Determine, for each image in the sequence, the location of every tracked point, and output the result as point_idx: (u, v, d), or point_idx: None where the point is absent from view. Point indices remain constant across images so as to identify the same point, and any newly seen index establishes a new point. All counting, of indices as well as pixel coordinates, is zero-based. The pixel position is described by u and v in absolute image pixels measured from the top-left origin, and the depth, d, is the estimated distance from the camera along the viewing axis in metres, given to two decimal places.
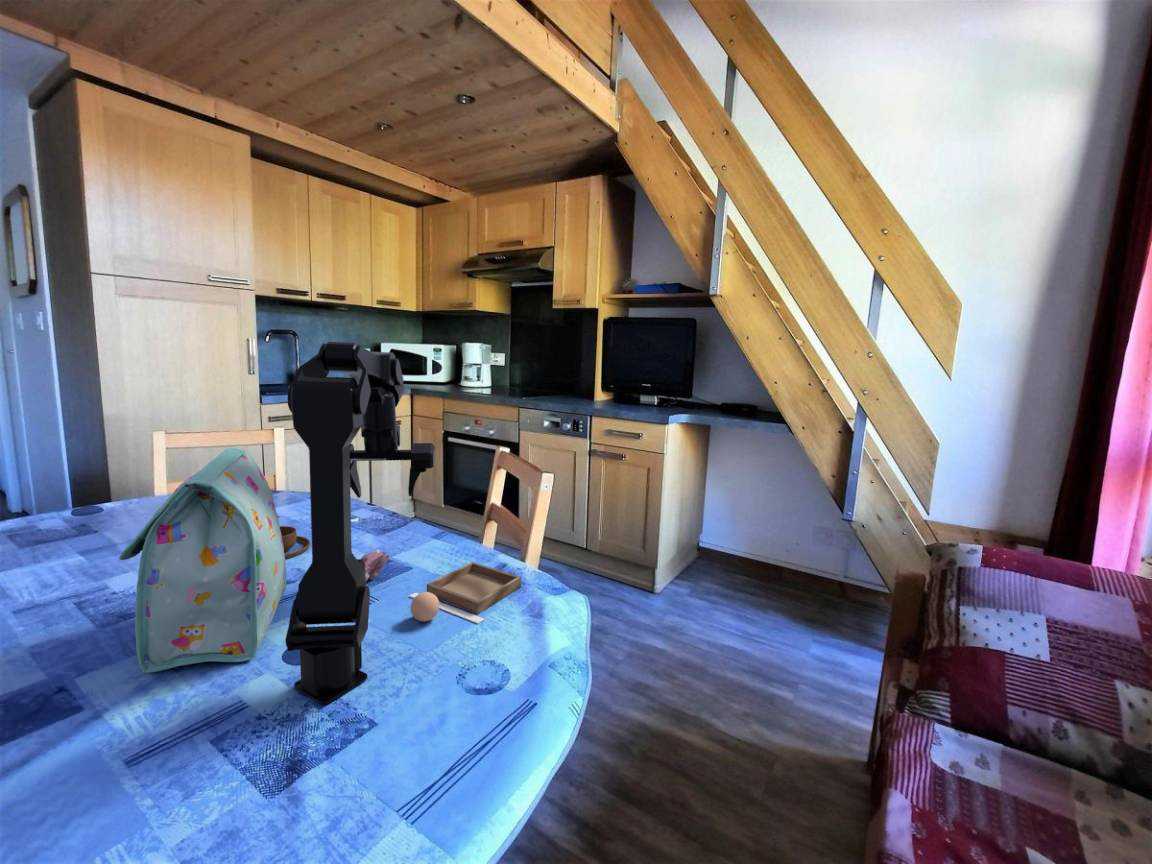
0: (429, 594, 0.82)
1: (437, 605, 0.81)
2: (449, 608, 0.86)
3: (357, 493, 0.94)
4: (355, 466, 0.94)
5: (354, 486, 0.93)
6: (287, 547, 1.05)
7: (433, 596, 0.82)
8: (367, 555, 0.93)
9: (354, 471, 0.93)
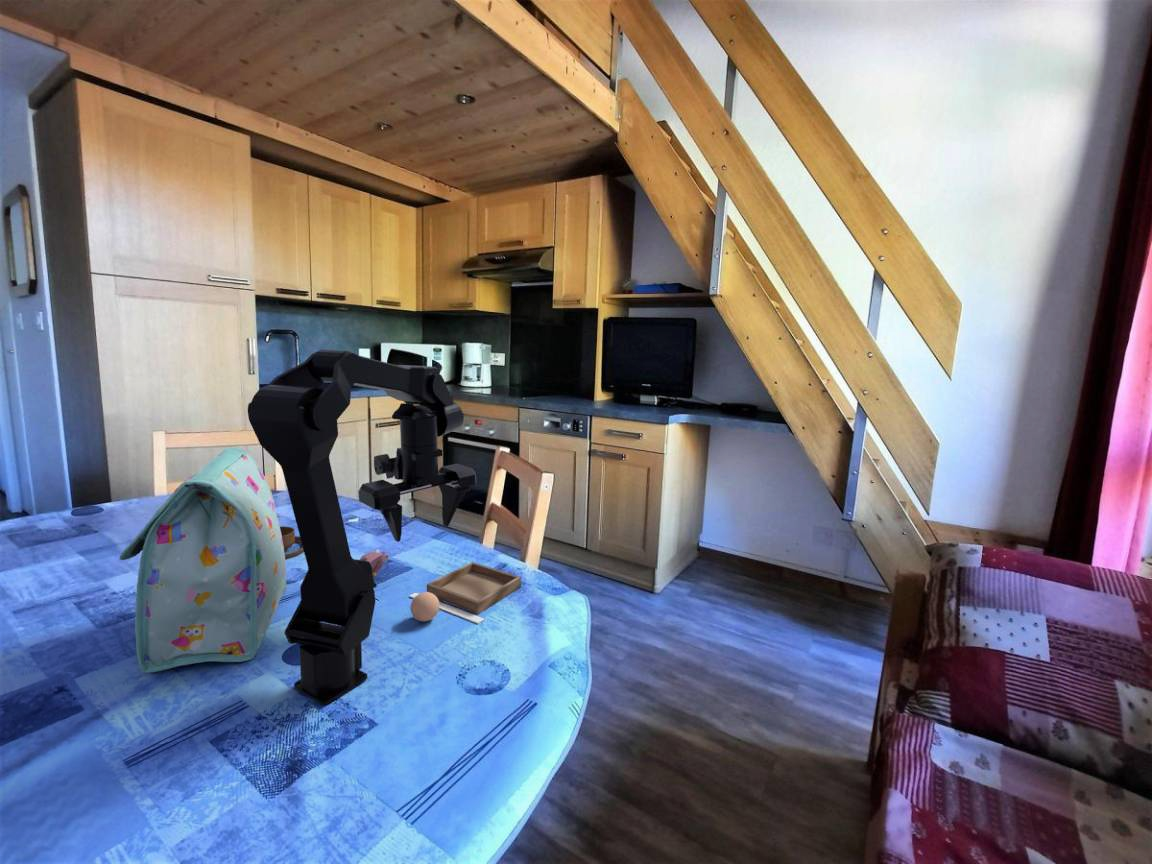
0: (429, 594, 0.82)
1: (437, 605, 0.81)
2: (449, 608, 0.86)
3: (399, 535, 0.81)
4: None
5: (400, 526, 0.80)
6: (285, 547, 1.05)
7: (433, 596, 0.82)
8: (366, 555, 0.93)
9: None
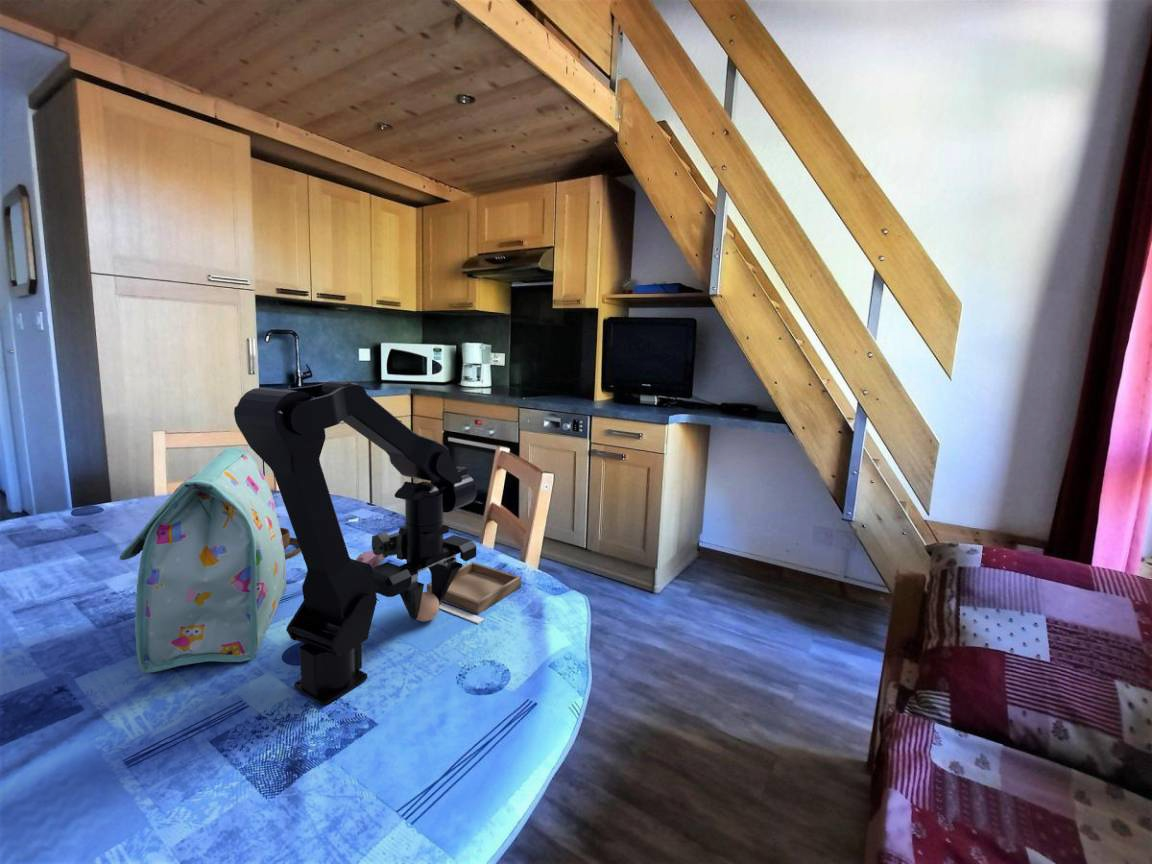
0: (429, 594, 0.82)
1: (437, 605, 0.81)
2: (449, 608, 0.86)
3: (417, 613, 0.79)
4: None
5: (419, 604, 0.78)
6: None
7: (433, 596, 0.82)
8: (363, 555, 0.93)
9: None
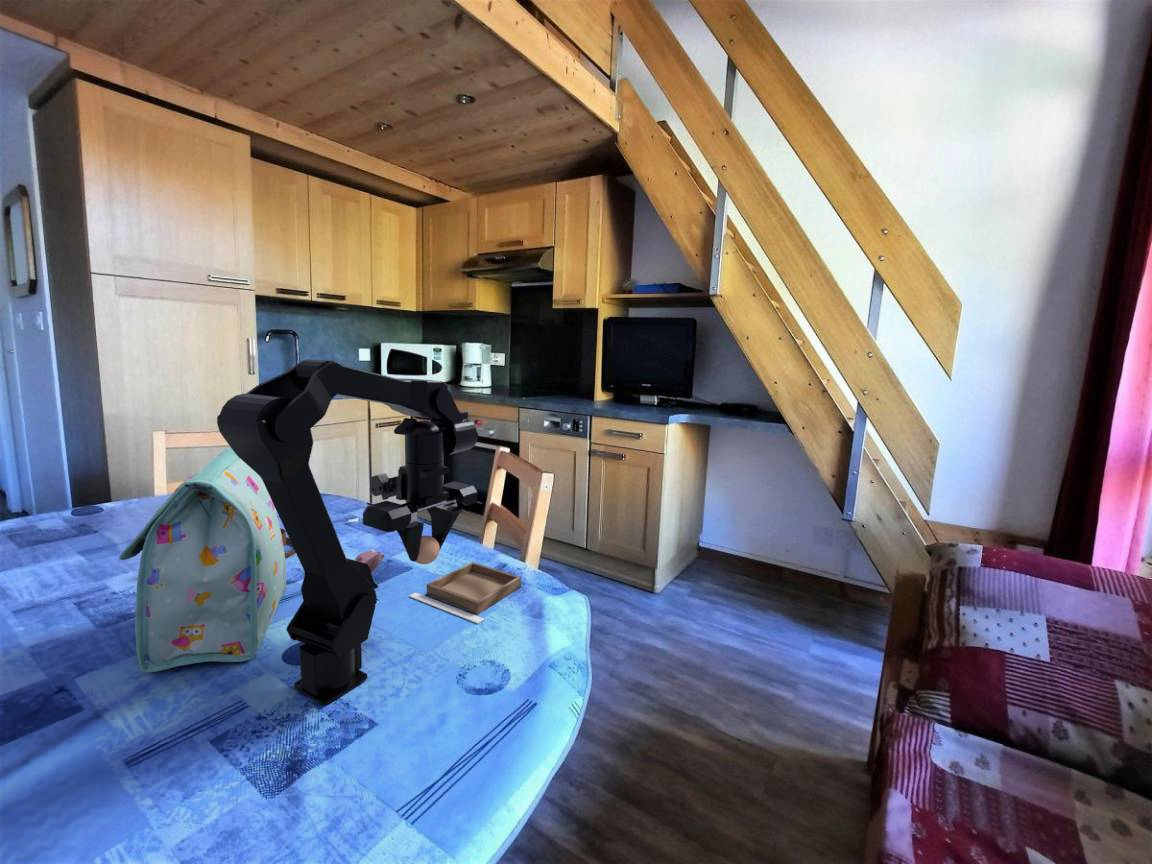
0: (429, 537, 0.80)
1: (437, 548, 0.80)
2: (449, 608, 0.86)
3: (417, 555, 0.78)
4: None
5: (419, 544, 0.77)
6: None
7: (433, 539, 0.80)
8: (362, 555, 0.93)
9: None
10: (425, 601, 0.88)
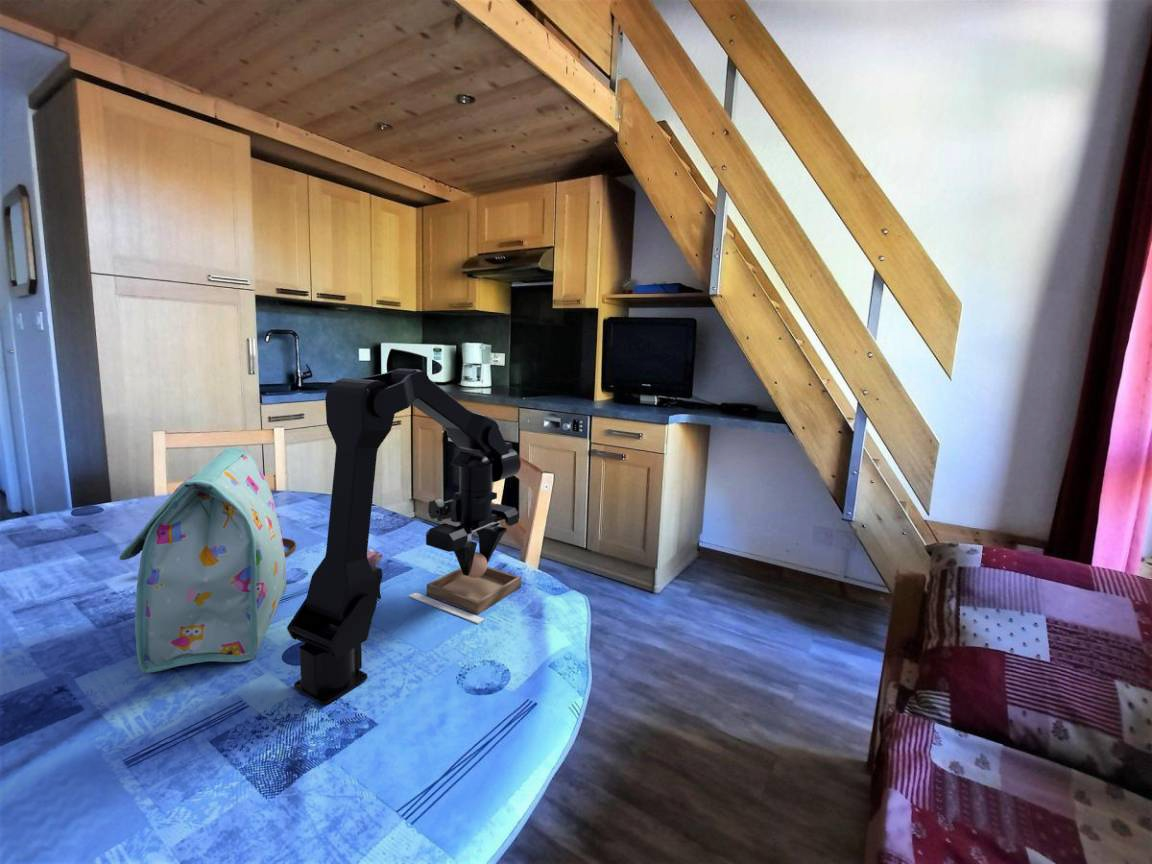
0: (478, 554, 0.91)
1: (486, 563, 0.91)
2: (449, 608, 0.86)
3: (469, 570, 0.89)
4: None
5: (471, 561, 0.88)
6: None
7: (482, 555, 0.92)
8: None
9: None
10: (425, 601, 0.88)
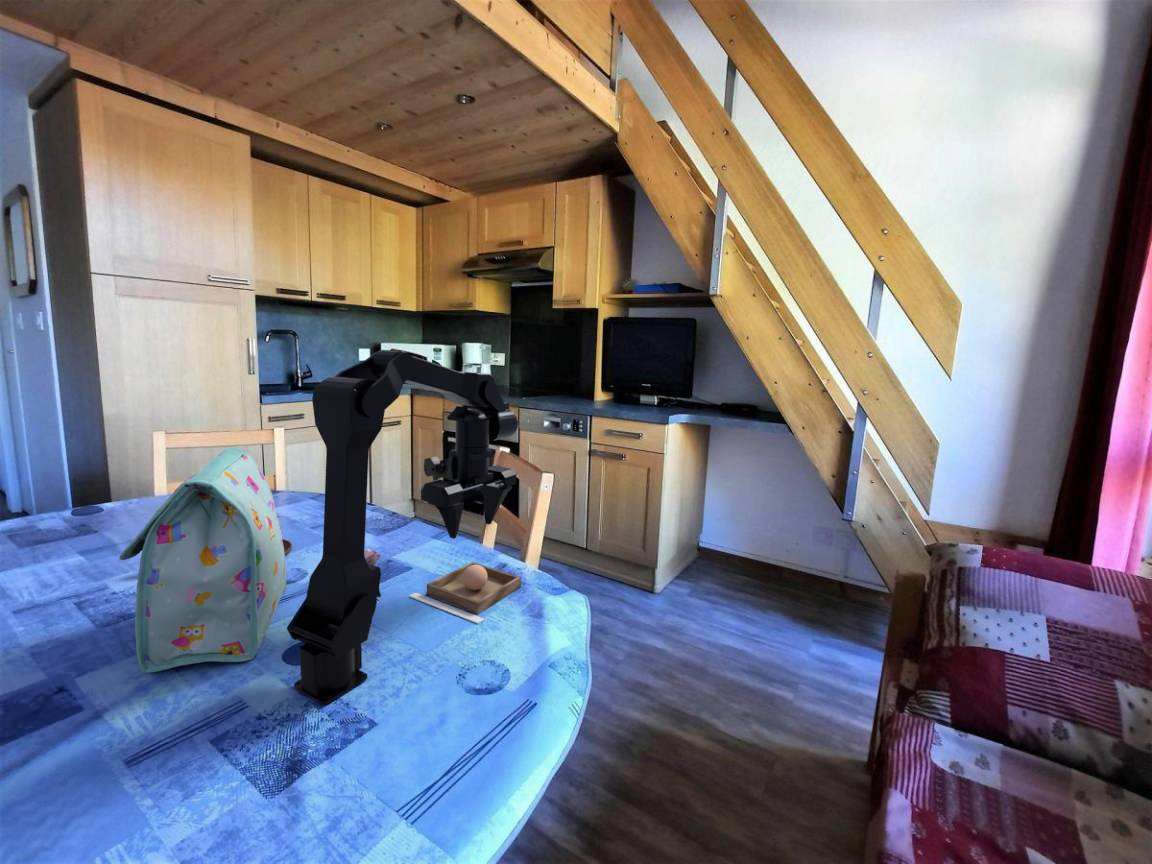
0: (479, 566, 0.92)
1: (486, 576, 0.92)
2: (449, 608, 0.86)
3: (456, 532, 0.85)
4: None
5: (458, 522, 0.85)
6: None
7: (482, 568, 0.92)
8: None
9: None
10: (425, 601, 0.88)
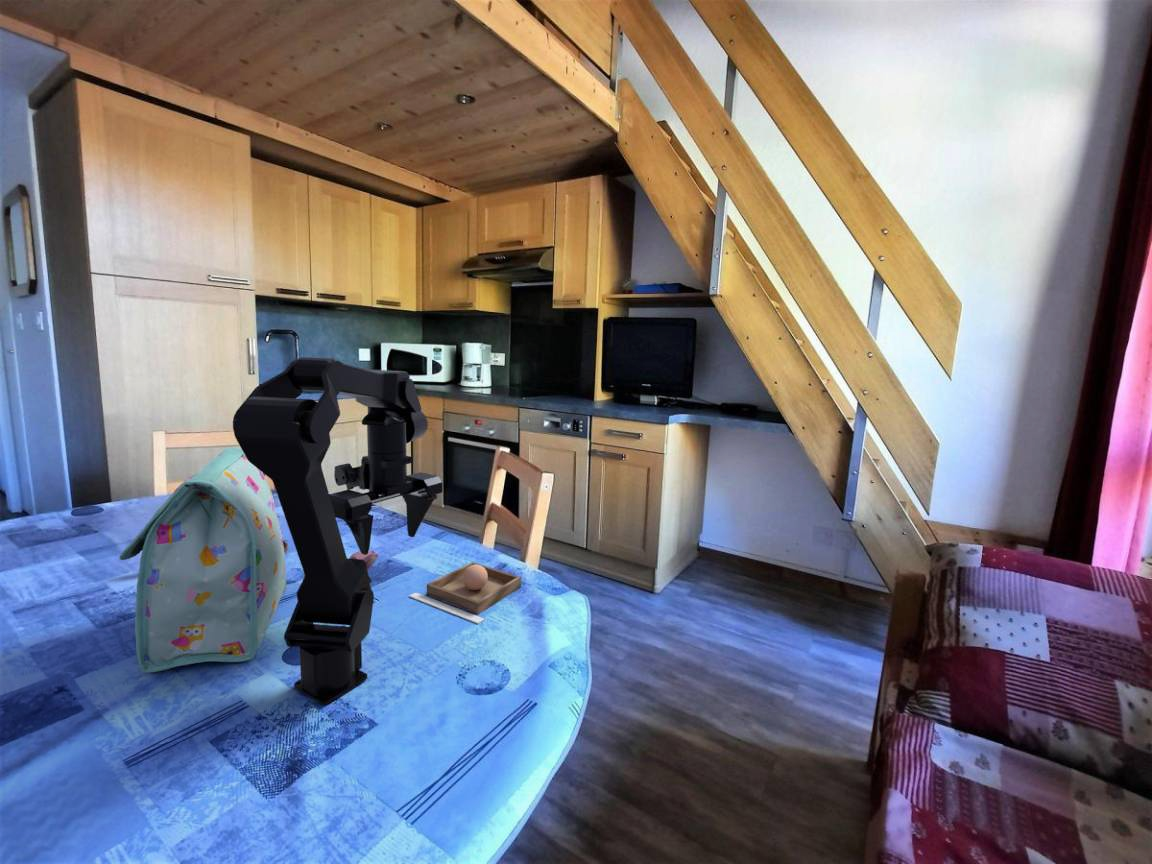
0: (479, 566, 0.92)
1: (486, 576, 0.92)
2: (449, 608, 0.86)
3: (367, 548, 0.77)
4: None
5: (369, 537, 0.76)
6: None
7: (483, 568, 0.92)
8: (356, 554, 0.93)
9: None
10: (425, 601, 0.88)
